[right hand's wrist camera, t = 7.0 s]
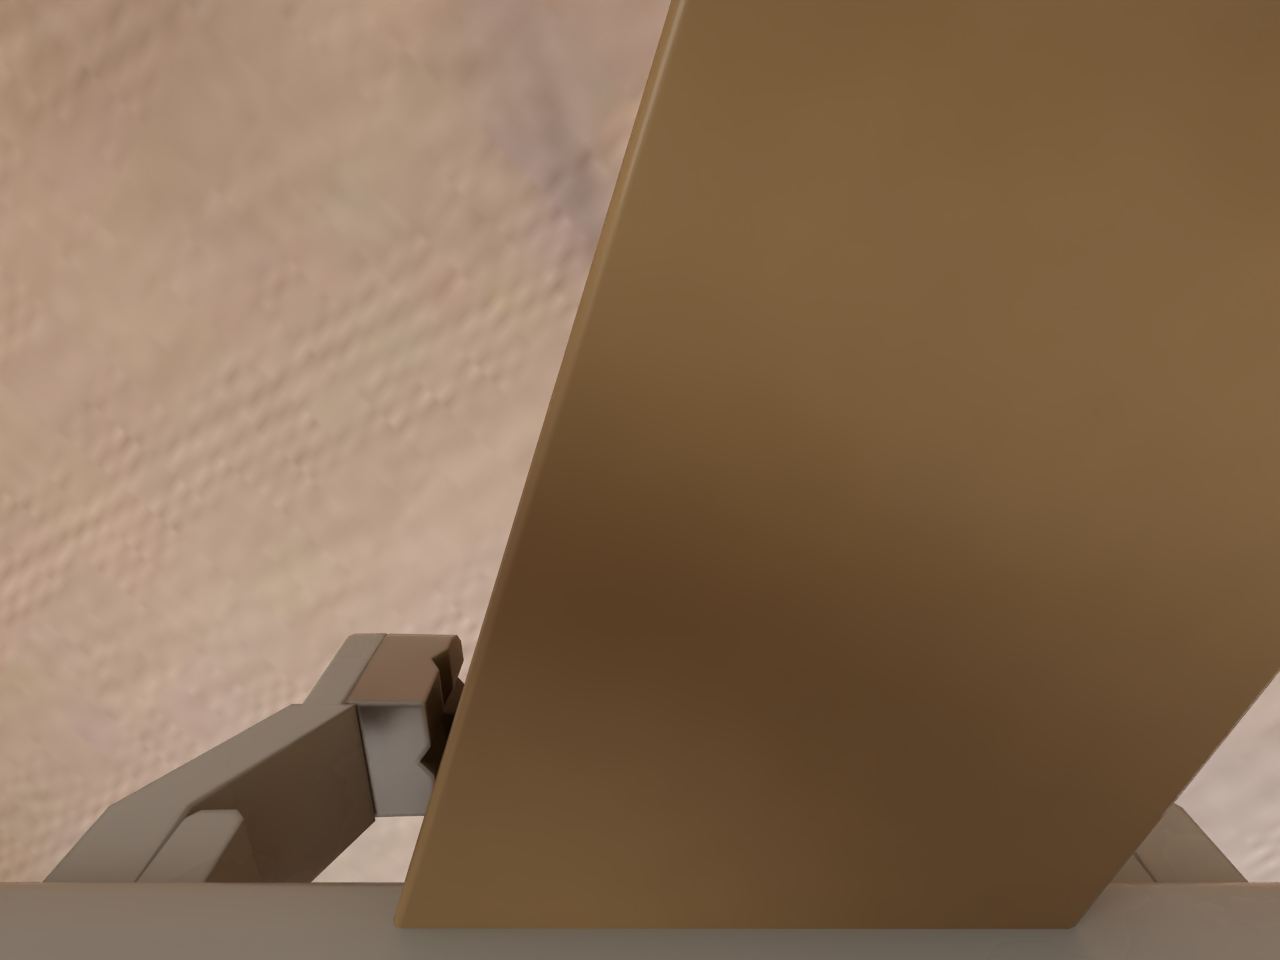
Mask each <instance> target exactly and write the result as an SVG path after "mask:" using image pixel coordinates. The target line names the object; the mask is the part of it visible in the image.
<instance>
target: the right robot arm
mask: <svg viewBox="0 0 1280 960" xmlns="http://www.w3.org/2000/svg"><path fill="white" fill-rule="evenodd" d="M463 661H464V660H463V653H462V645H461V640H460V639H459V637H458V636H457V635H428V634H389V635H388V634H386V633H376V634H354V635H351V636H349V637H348V638H347V639H346V641H345V642H344V644H343V645H342V647H341V648H340V650H339V651H338V652H337V654H336V655H335V657H334V658H333V660H332V661H331V663H330V664H329V666H328V667H327V669H326V670H325V672H324V673H323V675H322V676H321V678H320V679H319V681H318V682H317V684H316V685H315V687H314V688H313V690H312V691H311V692H310V694H309V695H308V697H307V698H306V700H305V701H304V703H303V704H291V705H290V706H288V707H286V708H284V709H282V710H281V711H279V712H277V713H275V714H273V715H272V716H270V717H268V718H266V719H265V720H263V721H261V722H259V723H257V724H256V725H254V726H252V727H250V728H248V729H247V730H245V731H243V732H241V733H240V734H238V735H236V736H234V737H232V738H231V739H229V740H227V741H225V742H223V743H222V744H220V745H218V746H216V747H215V748H213V749H211V750H209V751H207V752H206V753H204V754H202V755H200V756H198V757H197V758H195V759H193V760H191V761H190V762H188V763H186V764H184V765H182V766H181V767H179V768H177V769H175V770H173V771H172V772H170V773H168V774H166V775H165V776H163V777H161V778H159V779H157V780H156V781H154V782H152V783H150V784H148V785H147V786H145V787H143V788H141V789H139V790H138V791H136V792H134V793H132V794H131V795H129V796H127V797H125V798H123V799H122V800H120V801H118V802H116V803H114V804H113V805H111V806H109V807H108V808H107V809H106V811H105V812H104V813H103V814H102V815H101V816H100V817H99V818H98V820H97V821H96V822H95V823H94V824H93V825H92V826H91V828H90V829H89V830H88V831H87V832H86V833H85V834H84V836H83V837H82V838H81V839H80V840H79V841H78V842H77V844H76V845H75V846H74V847H73V848H72V849H71V850H70V851H69V853H68V854H67V855H66V856H65V857H64V858H63V859H62V861H61V862H60V863H59V864H58V865H57V866H56V867H55V869H54V870H53V871H52V872H51V873H50V874H49V875H48V877H47V878H46V879H45V880H44V881H43V882H0V960H1280V882H1248V881H1247V880H1246V879H1245V878H1244V877H1243V876H1242V874H1241V873H1240V872H1239V871H1238V870H1237V869H1236V868H1235V867H1234V865H1233V864H1232V863H1231V862H1230V861H1229V860H1228V859H1227V858H1226V856H1225V855H1224V854H1223V853H1222V852H1221V851H1220V850H1219V849H1218V847H1217V846H1216V845H1215V844H1214V843H1213V842H1212V841H1211V840H1210V838H1209V837H1208V836H1207V835H1206V834H1205V833H1204V832H1203V831H1202V829H1201V828H1200V827H1199V826H1198V825H1197V824H1196V823H1195V822H1194V820H1193V819H1192V818H1191V817H1190V816H1189V815H1188V814H1187V813H1186V811H1185V810H1184V809H1183V808H1182V807H1180V806H1178V805H1176V804H1175V803H1173V805H1172V806H1171V807H1170V808H1169V810H1168V811H1167V812H1166V813H1165V815H1164V816H1163V817H1162V818H1161V820H1160V821H1159V822H1158V823H1157V825H1156V826H1155V827H1154V828H1153V830H1152V831H1151V832H1150V833H1149V835H1148V836H1147V837H1146V838H1145V840H1144V841H1143V842H1142V843H1141V845H1140V846H1139V847H1138V848H1137V850H1136V851H1135V852H1134V853H1133V854H1132V856H1131V857H1130V858H1129V859H1128V861H1127V862H1126V863H1125V864H1124V866H1123V867H1122V868H1121V869H1120V871H1119V872H1118V873H1117V874H1116V876H1115V877H1114V878H1113V879H1112V881H1111V882H1110V883H1109V884H1108V886H1107V887H1106V888H1105V889H1104V891H1103V892H1102V893H1101V894H1100V896H1099V897H1098V898H1097V899H1096V901H1095V902H1094V903H1093V904H1092V906H1091V907H1090V908H1089V909H1088V911H1087V912H1086V913H1085V914H1084V916H1083V917H1082V918H1081V919H1080V921H1079V922H1078V923H1077V924H1076V926H1075V927H1072V928H1070V929H402V928H399V927H396V926H394V921H393V919H394V915H395V912H396V909H397V905H398V902H399V899H400V896H401V892H402V889H403V886H404V883H311V882H312V881H313V880H314V879H315V878H316V877H317V876H318V875H319V874H320V873H321V872H322V871H323V870H324V869H325V868H326V867H327V866H328V865H329V864H330V863H331V862H333V861H334V860H335V859H336V858H337V857H338V856H339V855H340V854H341V853H342V852H343V851H344V850H345V849H346V848H347V847H348V846H349V845H350V844H351V843H352V842H354V841H355V840H356V839H357V838H358V837H359V836H360V835H361V834H362V833H363V832H364V831H365V830H366V829H367V828H368V827H369V826H370V825H371V824H372V823H373V822H374V821H375V817H395V816H425V813H426V810H427V806H428V803H429V800H430V796H431V793H432V790H433V787H434V783H435V780H436V777H437V773H438V770H439V767H440V763H441V760H442V757H443V754H444V750H445V747H446V744H447V740H448V737H449V734H450V730H451V727H452V724H453V720H454V717H455V714H456V711H457V707H458V704H459V701H460V697H461V694H462V691H463V687H464V683H463V682H462V681H461V680H460V679H459V678H458V674H459V672H460V669H461V666H462V664H463Z"/></svg>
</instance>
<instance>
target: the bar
mask: <svg viewBox="0 0 1280 960" xmlns="http://www.w3.org/2000/svg"><path fill="white" fill-rule="evenodd" d="M1279 671H1280V0H672V1H671V4H670V7H669V11H668V14H667V17H666V20H665V24H664V27H663V30H662V34H661V37H660V40H659V44H658V47H657V50H656V53H655V57H654V60H653V63H652V67H651V70H650V73H649V77H648V80H647V83H646V86H645V90H644V93H643V96H642V100H641V103H640V106H639V110H638V113H637V116H636V119H635V123H634V126H633V129H632V133H631V136H630V139H629V143H628V146H627V149H626V153H625V156H624V159H623V162H622V166H621V169H620V172H619V176H618V179H617V182H616V186H615V189H614V192H613V195H612V199H611V202H610V205H609V209H608V212H607V215H606V219H605V222H604V225H603V228H602V232H601V235H600V238H599V242H598V245H597V248H596V252H595V255H594V258H593V261H592V265H591V268H590V271H589V275H588V278H587V281H586V285H585V288H584V291H583V295H582V298H581V301H580V304H579V308H578V311H577V314H576V318H575V321H574V324H573V328H572V331H571V334H570V337H569V341H568V344H567V347H566V351H565V354H564V357H563V361H562V364H561V367H560V370H559V374H558V377H557V380H556V384H555V387H554V390H553V394H552V397H551V400H550V403H549V407H548V410H547V413H546V417H545V420H544V423H543V427H542V430H541V433H540V436H539V440H538V443H537V446H536V450H535V453H534V456H533V460H532V463H531V466H530V470H529V473H528V476H527V479H526V483H525V486H524V489H523V493H522V496H521V499H520V503H519V506H518V509H517V512H516V516H515V519H514V522H513V526H512V529H511V532H510V536H509V539H508V542H507V545H506V549H505V552H504V555H503V559H502V562H501V565H500V569H499V572H498V575H497V578H496V582H495V585H494V588H493V592H492V595H491V598H490V602H489V605H488V608H487V612H486V615H485V618H484V621H483V625H482V628H481V631H480V635H479V638H478V641H477V645H476V648H475V651H474V654H473V658H472V661H471V664H470V668H469V671H468V674H467V678H466V681H465V684H464V687H463V691H462V694H461V697H460V701H459V704H458V707H457V711H456V714H455V717H454V720H453V724H452V727H451V730H450V734H449V737H448V740H447V744H446V747H445V750H444V754H443V757H442V760H441V763H440V767H439V770H438V773H437V777H436V780H435V783H434V787H433V790H432V793H431V796H430V800H429V803H428V806H427V810H426V813H425V816H424V820H423V823H422V826H421V829H420V833H419V836H418V839H417V843H416V846H415V849H414V853H413V856H412V859H411V862H410V866H409V869H408V872H407V876H406V879H405V882H404V886H403V889H402V892H401V896H400V899H399V902H398V905H397V909H396V912H395V915H394V919H393V921H394V926H396V927H399V928H402V929H1070V928H1072V927H1075V926H1076V924H1077V923H1078V922H1079V921H1080V919H1081V918H1082V917H1083V916H1084V914H1085V913H1086V912H1087V911H1088V909H1089V908H1090V907H1091V906H1092V904H1093V903H1094V902H1095V901H1096V899H1097V898H1098V897H1099V896H1100V894H1101V893H1102V892H1103V891H1104V889H1105V888H1106V887H1107V886H1108V884H1109V883H1110V882H1111V881H1112V879H1113V878H1114V877H1115V876H1116V874H1117V873H1118V872H1119V871H1120V869H1121V868H1122V867H1123V866H1124V864H1125V863H1126V862H1127V861H1128V859H1129V858H1130V857H1131V856H1132V854H1133V853H1134V852H1135V851H1136V850H1137V848H1138V847H1139V846H1140V845H1141V843H1142V842H1143V841H1144V840H1145V838H1146V837H1147V836H1148V835H1149V833H1150V832H1151V831H1152V830H1153V828H1154V827H1155V826H1156V825H1157V823H1158V822H1159V821H1160V820H1161V818H1162V817H1163V816H1164V815H1165V813H1166V812H1167V811H1168V810H1169V808H1170V807H1171V806H1172V805H1173V803H1174V802H1175V801H1176V800H1177V798H1178V797H1179V796H1180V795H1181V793H1182V792H1183V791H1184V790H1185V788H1186V787H1187V786H1188V785H1189V783H1190V782H1191V781H1192V780H1193V778H1194V777H1195V776H1196V775H1197V773H1198V772H1199V771H1200V770H1201V769H1202V767H1203V766H1204V765H1205V764H1206V762H1207V761H1208V760H1209V759H1210V757H1211V756H1212V755H1213V754H1214V752H1215V751H1216V750H1217V749H1218V747H1219V746H1220V745H1221V744H1222V742H1223V741H1224V740H1225V739H1226V737H1227V736H1228V735H1229V734H1230V732H1231V731H1232V730H1233V729H1234V727H1235V726H1236V725H1237V724H1238V722H1239V721H1240V720H1241V719H1242V717H1243V716H1244V715H1245V714H1246V712H1247V711H1248V710H1249V709H1250V707H1251V706H1252V705H1253V704H1254V702H1255V701H1256V700H1257V699H1258V697H1259V696H1260V695H1261V694H1262V693H1263V691H1264V690H1265V689H1266V688H1267V686H1268V685H1269V684H1270V683H1271V681H1272V680H1273V679H1274V678H1275V676H1276V675H1277V674H1278V673H1279Z"/></svg>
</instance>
